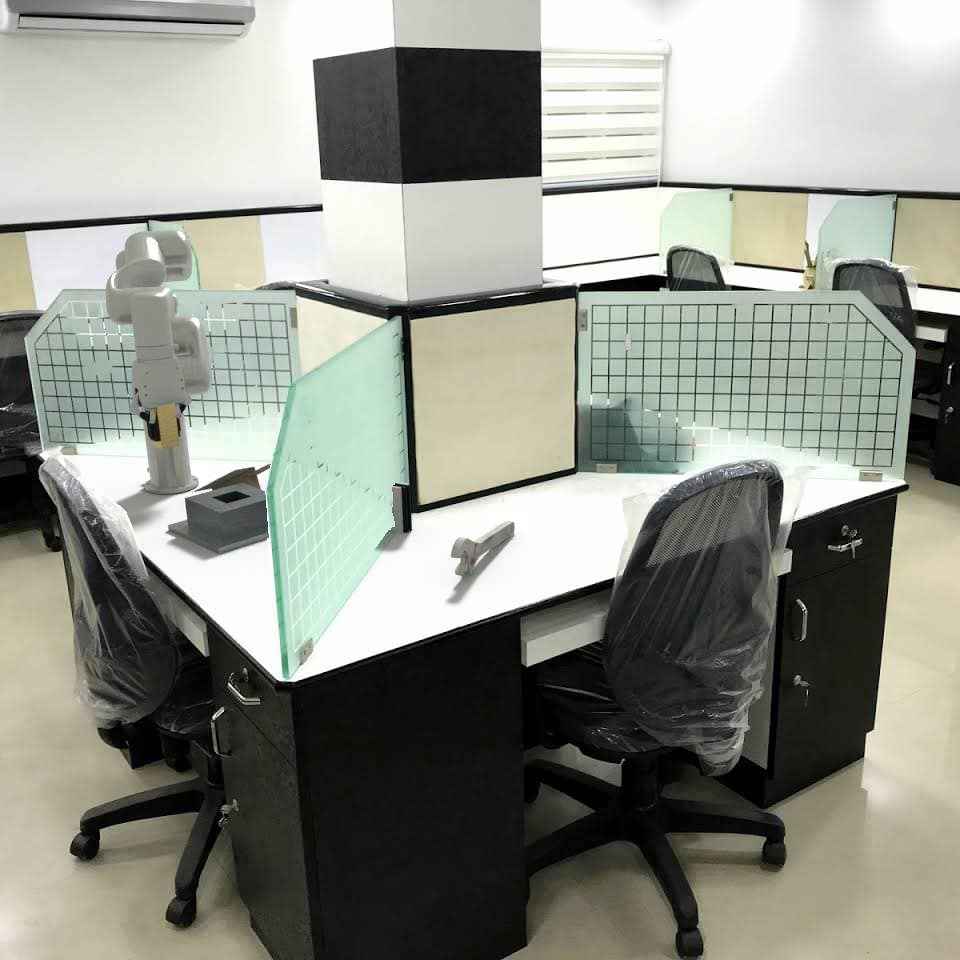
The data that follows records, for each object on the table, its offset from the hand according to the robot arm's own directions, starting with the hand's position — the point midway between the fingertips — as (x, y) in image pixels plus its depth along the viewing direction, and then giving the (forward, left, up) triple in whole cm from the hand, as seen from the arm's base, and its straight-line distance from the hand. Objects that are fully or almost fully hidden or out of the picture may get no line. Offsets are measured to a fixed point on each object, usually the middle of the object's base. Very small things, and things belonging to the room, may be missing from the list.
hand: (165, 437), depth 212 cm
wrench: (+64, +31, -20) cm, 74 cm away
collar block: (+13, +7, -19) cm, 24 cm away
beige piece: (-6, +20, -20) cm, 28 cm away
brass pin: (0, 0, -2) cm, 2 cm away
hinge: (+36, +28, -20) cm, 50 cm away
